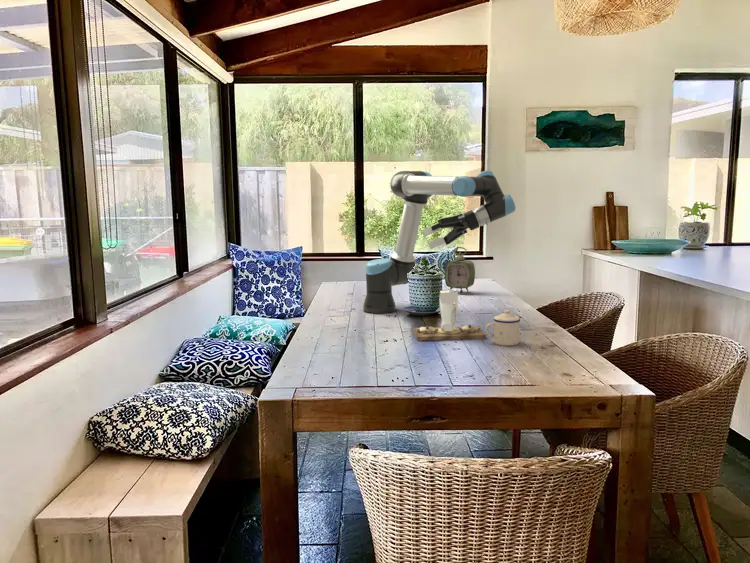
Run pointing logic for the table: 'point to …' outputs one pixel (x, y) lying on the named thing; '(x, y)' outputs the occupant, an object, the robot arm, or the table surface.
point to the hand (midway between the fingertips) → (426, 239)
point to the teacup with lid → (505, 329)
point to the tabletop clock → (460, 272)
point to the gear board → (449, 333)
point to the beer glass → (448, 309)
